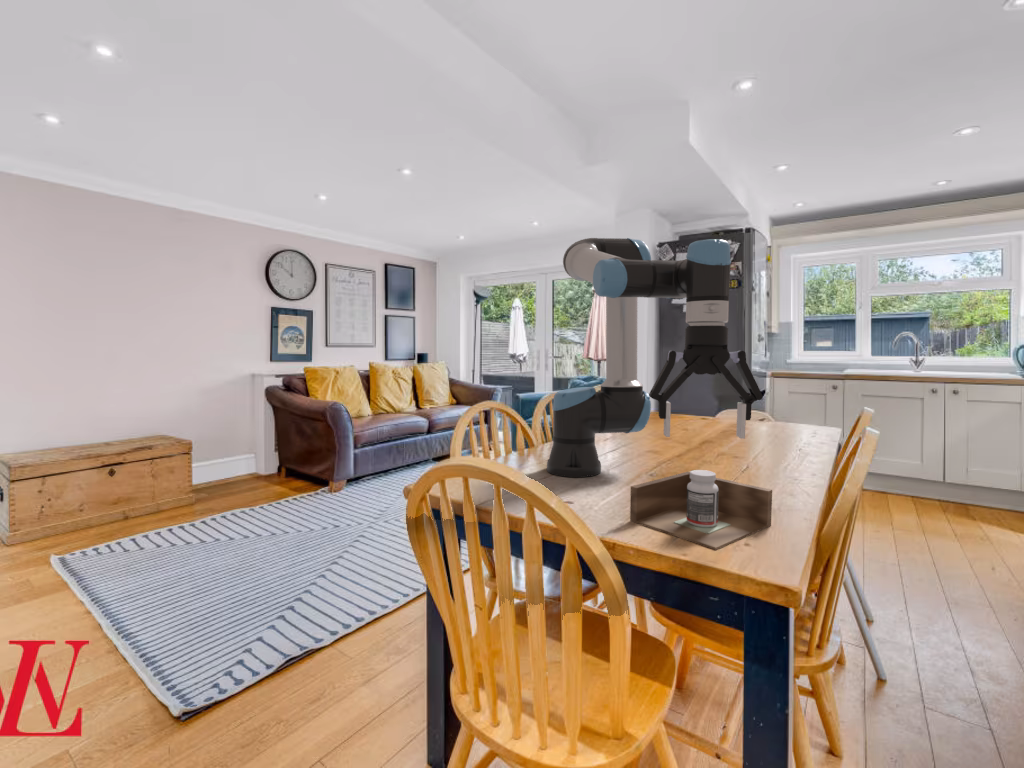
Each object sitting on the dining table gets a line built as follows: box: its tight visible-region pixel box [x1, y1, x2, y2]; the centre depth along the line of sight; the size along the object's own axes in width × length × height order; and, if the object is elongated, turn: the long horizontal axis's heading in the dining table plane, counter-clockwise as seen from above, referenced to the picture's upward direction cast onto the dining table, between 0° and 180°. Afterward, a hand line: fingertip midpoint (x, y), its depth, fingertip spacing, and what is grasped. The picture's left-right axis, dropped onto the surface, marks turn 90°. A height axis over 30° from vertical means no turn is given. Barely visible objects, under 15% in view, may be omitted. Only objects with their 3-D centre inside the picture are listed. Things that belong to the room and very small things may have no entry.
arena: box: [629, 471, 773, 550], centre depth 99 cm, size 18×20×7 cm
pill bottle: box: [687, 469, 718, 527], centre depth 97 cm, size 6×6×10 cm
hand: (703, 436), depth 97 cm, fingers open, 13 cm apart
